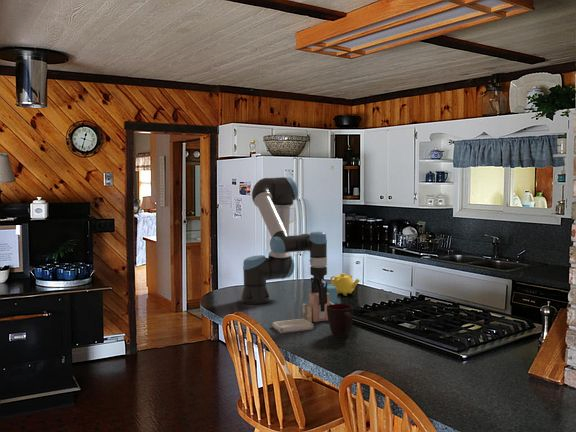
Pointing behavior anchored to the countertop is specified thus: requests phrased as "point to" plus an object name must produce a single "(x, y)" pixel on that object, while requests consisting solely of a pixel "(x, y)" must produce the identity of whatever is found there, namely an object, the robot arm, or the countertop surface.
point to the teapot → (344, 283)
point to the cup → (340, 319)
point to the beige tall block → (317, 306)
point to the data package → (332, 293)
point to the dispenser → (308, 312)
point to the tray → (292, 325)
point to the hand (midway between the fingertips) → (319, 316)
